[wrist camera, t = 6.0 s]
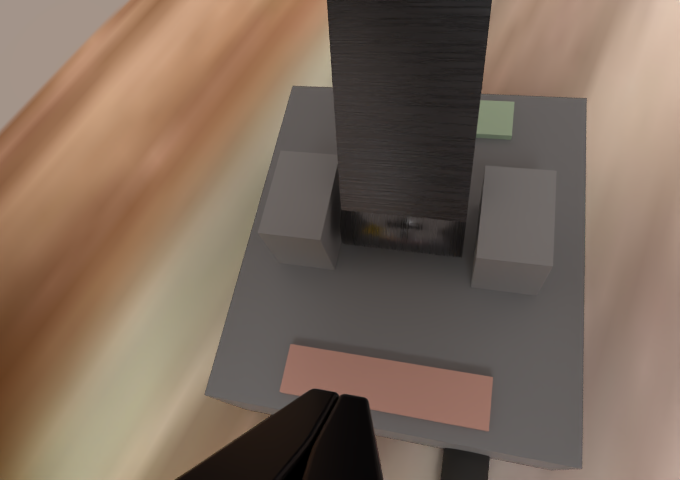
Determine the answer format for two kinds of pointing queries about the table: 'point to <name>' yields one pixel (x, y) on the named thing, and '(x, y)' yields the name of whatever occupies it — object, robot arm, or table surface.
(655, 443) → the table surface
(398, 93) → the breaker lever
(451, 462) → the pair of plug prongs
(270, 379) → the box
